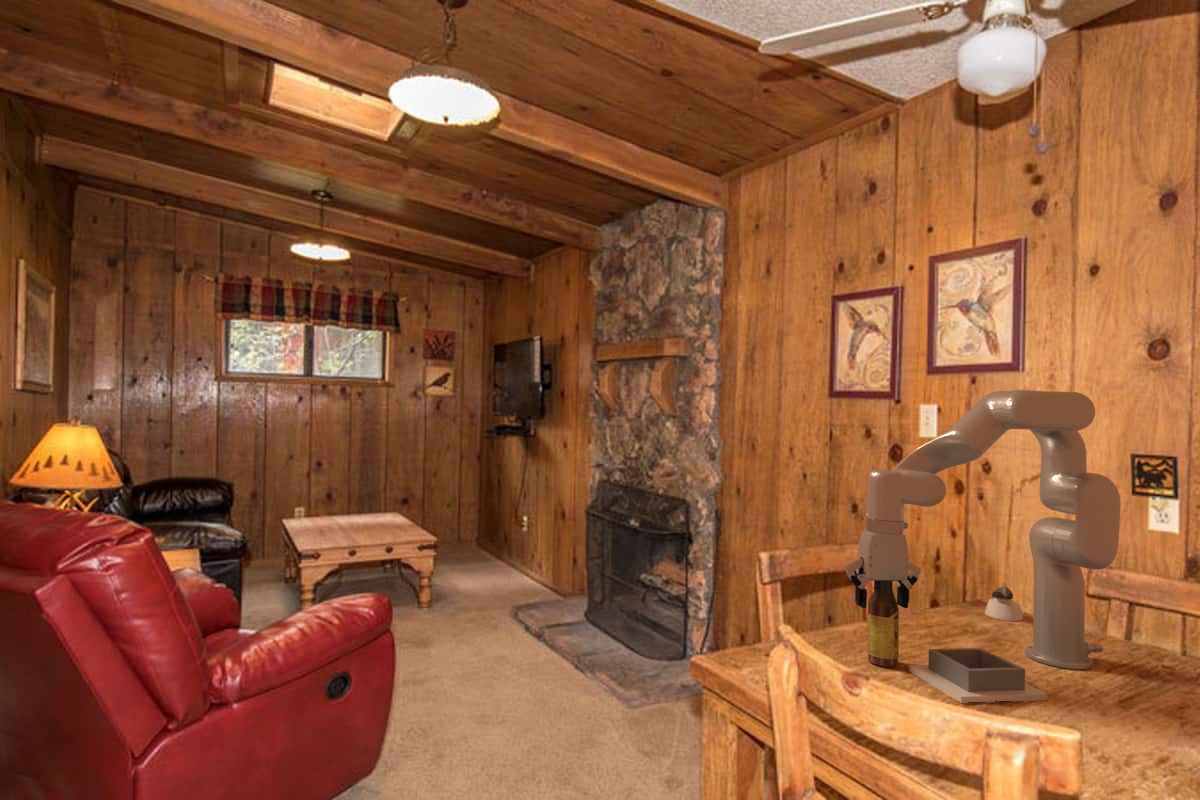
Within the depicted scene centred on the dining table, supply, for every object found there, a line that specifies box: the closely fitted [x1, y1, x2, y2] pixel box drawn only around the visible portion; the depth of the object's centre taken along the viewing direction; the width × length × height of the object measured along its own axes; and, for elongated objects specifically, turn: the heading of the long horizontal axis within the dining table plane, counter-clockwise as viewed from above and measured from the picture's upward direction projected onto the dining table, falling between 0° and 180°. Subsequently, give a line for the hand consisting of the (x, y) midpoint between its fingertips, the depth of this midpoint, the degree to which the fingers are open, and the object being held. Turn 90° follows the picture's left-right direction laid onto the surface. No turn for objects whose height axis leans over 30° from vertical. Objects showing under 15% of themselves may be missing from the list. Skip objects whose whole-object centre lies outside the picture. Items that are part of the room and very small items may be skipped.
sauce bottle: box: [867, 581, 900, 668], centre depth 146 cm, size 6×6×20 cm
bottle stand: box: [908, 647, 1048, 704], centre depth 135 cm, size 18×16×5 cm
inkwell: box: [984, 585, 1024, 622], centre depth 181 cm, size 9×18×10 cm, turn 154°
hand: (881, 606), depth 146 cm, fingers open, 9 cm apart
